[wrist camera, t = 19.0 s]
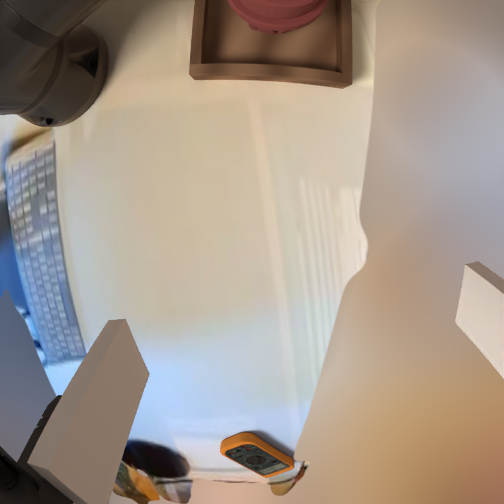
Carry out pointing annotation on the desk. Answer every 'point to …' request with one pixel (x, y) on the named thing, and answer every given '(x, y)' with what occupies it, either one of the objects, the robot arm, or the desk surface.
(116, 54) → the desk surface
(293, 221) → the desk surface
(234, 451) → the multimeter
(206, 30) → the walnut tray
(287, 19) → the mechanical component
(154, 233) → the desk surface
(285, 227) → the desk surface
